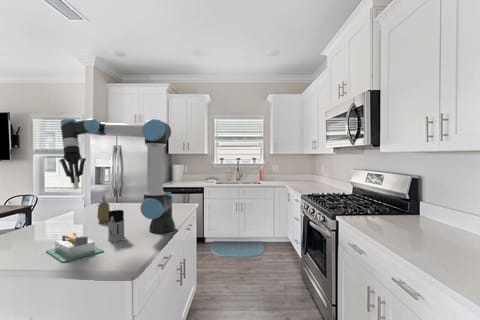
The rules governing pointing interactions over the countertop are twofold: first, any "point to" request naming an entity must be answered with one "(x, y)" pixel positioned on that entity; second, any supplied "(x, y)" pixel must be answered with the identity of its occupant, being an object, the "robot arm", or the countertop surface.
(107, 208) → the squeeze bottle
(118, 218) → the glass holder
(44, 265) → the countertop surface
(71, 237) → the tan rectangular bar
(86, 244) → the green base fixture
